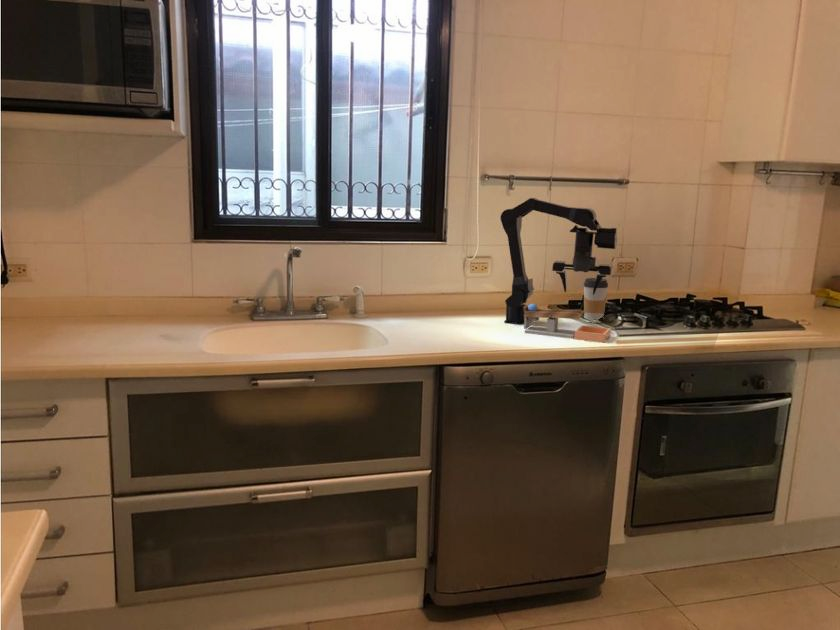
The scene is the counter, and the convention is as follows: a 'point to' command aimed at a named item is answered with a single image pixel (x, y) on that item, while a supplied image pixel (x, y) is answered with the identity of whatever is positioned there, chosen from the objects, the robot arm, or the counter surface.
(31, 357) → the counter surface
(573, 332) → the launcher base
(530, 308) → the ball
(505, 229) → the robot arm
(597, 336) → the dish
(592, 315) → the coffee cup
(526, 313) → the lever
